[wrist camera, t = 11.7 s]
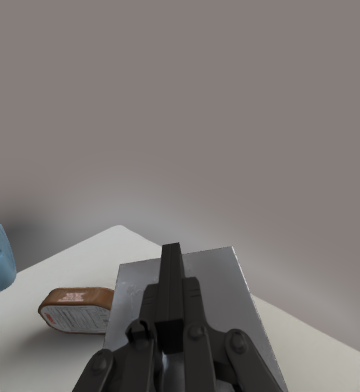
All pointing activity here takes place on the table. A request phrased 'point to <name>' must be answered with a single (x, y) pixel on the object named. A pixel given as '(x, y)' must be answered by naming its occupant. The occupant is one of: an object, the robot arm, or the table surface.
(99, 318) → the tin
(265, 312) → the table surface
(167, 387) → the box lid
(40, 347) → the table surface
